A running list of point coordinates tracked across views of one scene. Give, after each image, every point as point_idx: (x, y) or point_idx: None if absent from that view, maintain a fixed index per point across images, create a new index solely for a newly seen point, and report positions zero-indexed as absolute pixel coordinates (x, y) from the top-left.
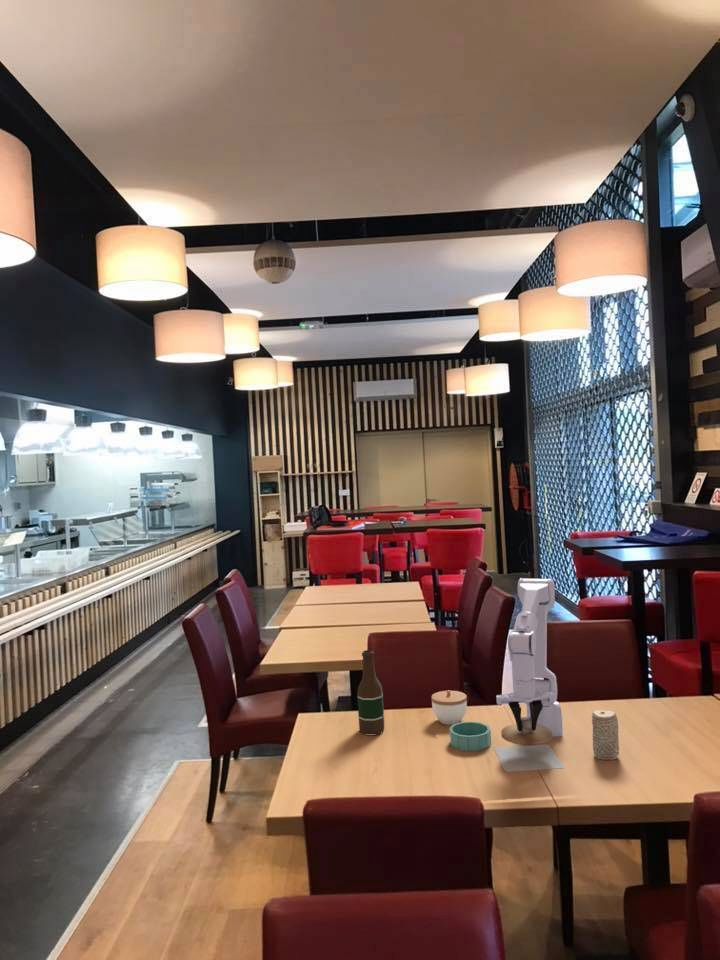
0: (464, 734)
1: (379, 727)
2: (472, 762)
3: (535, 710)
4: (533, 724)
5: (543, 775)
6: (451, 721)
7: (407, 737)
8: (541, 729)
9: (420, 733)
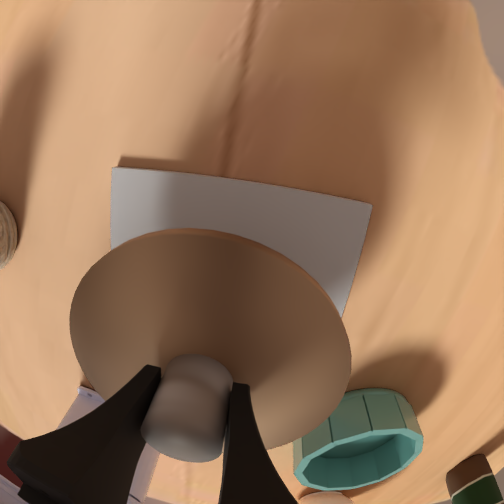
0: (345, 460)
1: (469, 468)
2: (421, 330)
3: (79, 458)
4: (143, 390)
5: (217, 139)
6: (332, 496)
7: (442, 454)
8: (114, 376)
9: (410, 467)
